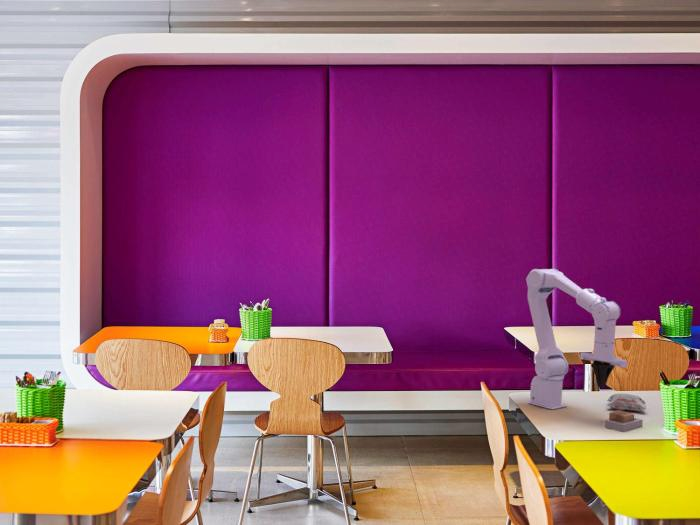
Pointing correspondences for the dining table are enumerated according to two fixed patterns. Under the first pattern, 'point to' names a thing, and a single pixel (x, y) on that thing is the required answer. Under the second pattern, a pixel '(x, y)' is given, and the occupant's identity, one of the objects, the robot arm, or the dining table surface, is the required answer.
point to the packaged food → (626, 402)
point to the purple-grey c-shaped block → (624, 425)
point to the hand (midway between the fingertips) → (601, 386)
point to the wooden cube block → (621, 416)
